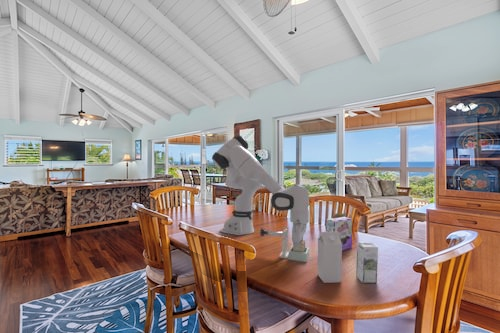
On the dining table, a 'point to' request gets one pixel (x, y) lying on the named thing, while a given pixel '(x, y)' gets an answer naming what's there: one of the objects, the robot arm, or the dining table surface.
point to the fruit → (338, 215)
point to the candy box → (341, 230)
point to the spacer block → (302, 246)
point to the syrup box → (367, 262)
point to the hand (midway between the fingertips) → (299, 246)
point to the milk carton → (329, 257)
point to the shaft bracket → (292, 254)
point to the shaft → (270, 233)
